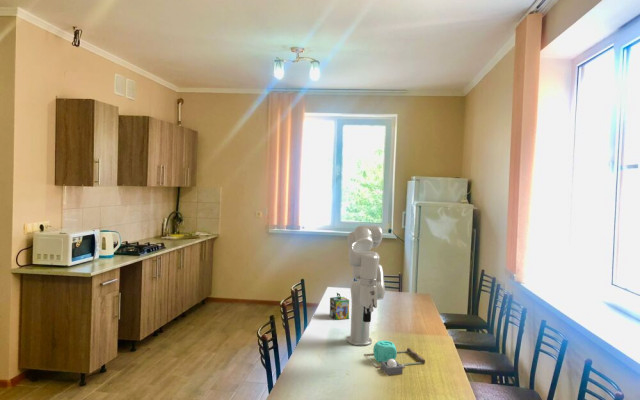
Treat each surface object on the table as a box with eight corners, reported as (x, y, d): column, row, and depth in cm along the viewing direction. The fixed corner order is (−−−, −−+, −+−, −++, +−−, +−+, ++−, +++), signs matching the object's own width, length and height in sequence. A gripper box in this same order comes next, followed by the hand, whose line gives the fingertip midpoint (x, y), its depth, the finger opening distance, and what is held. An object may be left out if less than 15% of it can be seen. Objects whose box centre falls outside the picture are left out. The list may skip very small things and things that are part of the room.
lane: (362, 353, 213) (362, 349, 213) (406, 349, 220) (407, 346, 220) (379, 370, 194) (379, 366, 194) (427, 365, 201) (427, 362, 201)
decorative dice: (372, 358, 208) (373, 341, 208) (387, 356, 211) (388, 339, 211) (381, 364, 201) (381, 347, 200) (396, 362, 203) (397, 345, 203)
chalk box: (349, 319, 266) (350, 294, 266) (335, 320, 263) (336, 295, 262) (342, 314, 275) (343, 290, 274) (329, 315, 272) (329, 291, 271)
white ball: (385, 367, 195) (385, 357, 195) (393, 366, 197) (394, 356, 196) (389, 371, 191) (389, 361, 191) (398, 370, 193) (398, 360, 192)
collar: (380, 368, 196) (381, 361, 196) (395, 367, 198) (395, 360, 198) (387, 375, 190) (387, 368, 190) (402, 373, 192) (402, 366, 192)
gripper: (383, 285, 195) (381, 326, 196) (369, 277, 209) (367, 315, 210) (367, 286, 193) (365, 327, 194) (354, 278, 207) (353, 316, 208)
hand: (366, 321), depth 202 cm, fingers closed
